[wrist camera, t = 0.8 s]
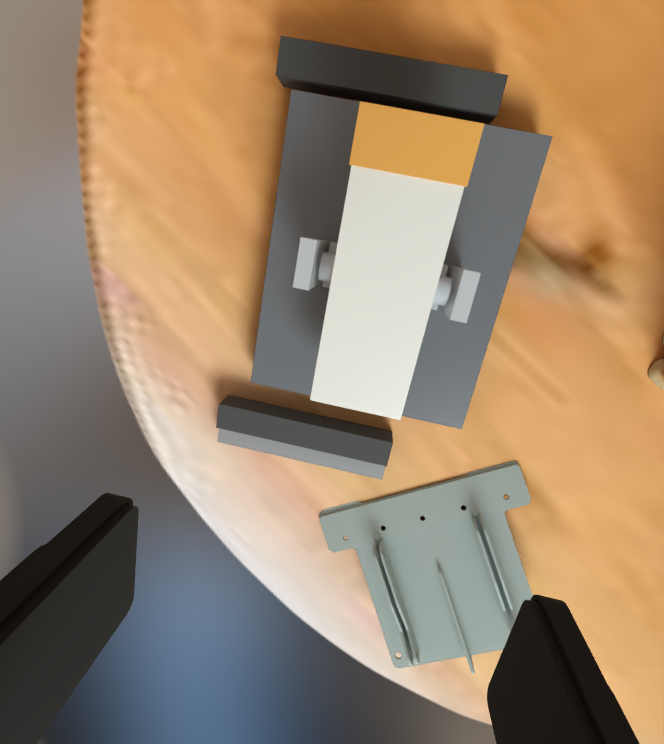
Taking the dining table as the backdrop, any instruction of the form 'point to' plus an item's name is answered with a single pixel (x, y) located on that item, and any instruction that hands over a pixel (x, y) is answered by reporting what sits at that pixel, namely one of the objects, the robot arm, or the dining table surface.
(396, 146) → the rocker lever
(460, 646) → the metal bracket
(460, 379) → the panel
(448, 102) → the pair of grey rails
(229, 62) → the dining table surface
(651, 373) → the grandmother figurine
